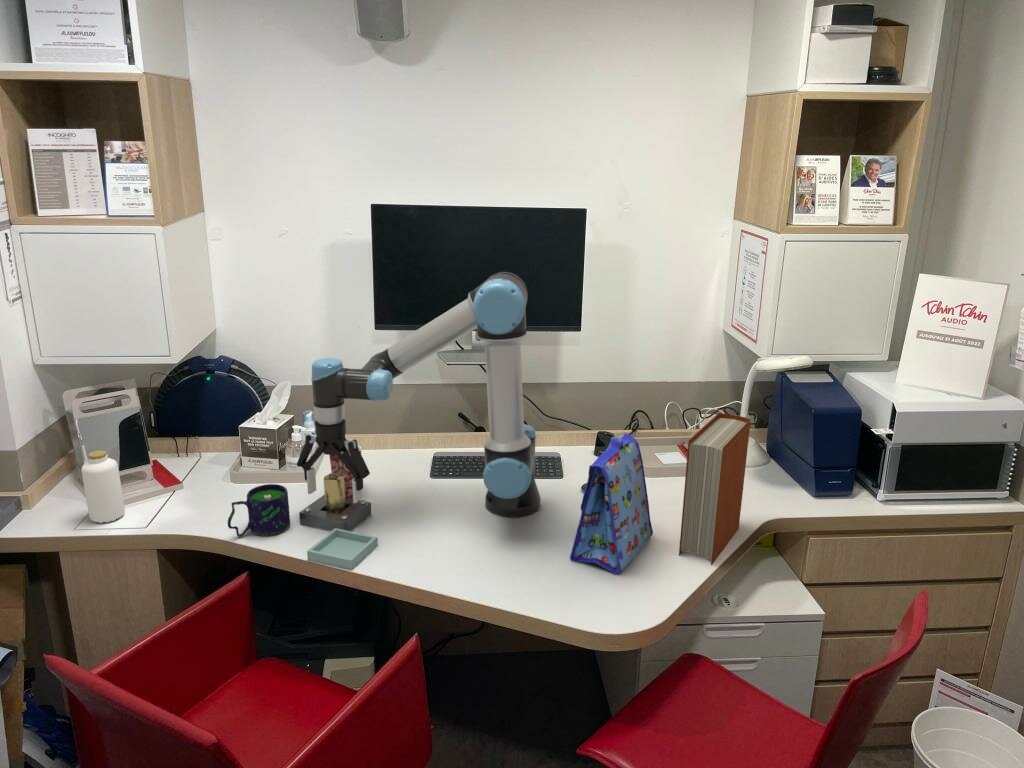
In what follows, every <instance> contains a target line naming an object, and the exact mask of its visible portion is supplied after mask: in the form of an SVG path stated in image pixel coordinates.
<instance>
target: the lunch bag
mask: <svg viewBox="0 0 1024 768" xmlns="http://www.w3.org/2000/svg"><path fill="white" fill-rule="evenodd" d="M587 475H588V479H587V483H586V486H585V491H584V493H583V496H582V500H581V504H580V511H581V515H580V518H579V521H578V522H579V523H578V526H577V529H576V533H575V538H574V540H573V544H572V547H571V548H572V549H571V552H570V554H569V559H570V561H573V562H577V563H578V562H583V563H591V564H593V563H594V564H597V565H599V566H600V567H602V568H603V569H605V570H606V571H608V572H611V573H613V574H614V575H619V574H620V573H621V572H622V571H623V570H624V568H626V566H627V565H628V564H629V563H630V562H631V561H632V559H634V557H636V555H637V554H638V553H639V551H640V550H641V549H642V548H643V547H644V546H645V544H646V543H648V541H649V540H650V539H651V537H652V536H654V535H653V534H654V531H653V527H652V521H651V515H650V504H649V497H648V495H649V494H648V490H647V489H648V488H647V482H646V475H645V469H644V462H643V457H642V452H641V448H640V445H639V443H638V440H637V439H636V438H635V437H634V436H633V435H631V434H629V433H623V434H622V435H621V436H620V437H616V436H612V437H611V438H610V441H609V444H608V446H607V448H606V449H605V451H604V452H602V453H601V454H600V455H599V456H598V457H597V458H596V459H595V461H593V463H591V465H589V467H588V474H587Z"/></svg>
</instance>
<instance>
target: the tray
mask: <svg viewBox="0 0 1024 768" xmlns="http://www.w3.org/2000/svg"><path fill="white" fill-rule="evenodd" d="M378 540H379V539H378V536H375V535H371V534H365V533H361V532H355V531H347V530H342V529H337V528H335V529H334V530H332V531H329V533H328V534H326V535H325V536H324V537H322V538H321V539H320V540H319V541H317V542H316V543H314V544H313V545H312V546H311V547H310V548H308V549H307V551H306V558H307V561H311V562H316V563H318V564H319V563H320V564H325V565H329V566H333V567H338V568H342V569H345V570H350V571H352V570H353V569H355V567H356V566H358V565H359V564H360V563H361V562H362V561H363V560H364V559H365V558H366V557H367V556H369V555H370V554H371V552H372V551H374V550H375V549H376V548H377V547H378V546H379V541H378Z"/></svg>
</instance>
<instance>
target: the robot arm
mask: <svg viewBox="0 0 1024 768" xmlns="http://www.w3.org/2000/svg"><path fill="white" fill-rule="evenodd" d="M528 293H529V292H528V289H527V286H526V284H525V282H524V280H523V279H522V278H520V277H519V276H518V275H516V274H515V273H512V272H509V271H508V272H507V271H500V272H497V273H494V274H492V275H490V276H489V277H488V278H487V279H485V281H484V282H482V283H481V284H480V285H478V286H477V287H476V288H474V289H473V290H471V291H470V292H468V294H467V298H466V299H464V300H463V301H461V302H460V303H458V304H456V305H455V306H453V307H451V308H450V309H448V310H447V311H446V312H444V313H442V314H441V315H438V316H437V317H435V318H433V320H431V321H429V322H428V323H425V324H424V325H423V326H421V327H420V328H418V329H416V330H415V331H413V332H412V333H410V334H409V335H407V336H404V337H403V338H402V339H400V340H399V341H397V342H395V343H394V344H392V345H391V346H389V347H387V348H386V349H384V350H382V351H380V352H379V351H378V352H377V353H375V354H374V355H372V356H371V357H370V359H369V360H368V361H367V363H365V365H363V366H362V368H348V367H344V365H343V361H342V360H341V359H339V358H336V357H323V358H319V359H316V360H315V361H314V362H313V363H312V364H311V387H312V396H313V397H312V398H313V415H314V420H315V422H314V429H315V430H314V431H315V432H310V433H309V434H307V435H305V441H304V442H305V443H304V445H303V448H302V450H301V452H300V455H299V457H298V460H297V462H296V466H297V467H299V468H300V467H301V468H302V469H303V473H304V480H305V481H306V482H307V483H306V484H307V485H306V486H307V494H308V495H312V494H313V493H315V492H317V482H316V481H317V478H316V476H317V475H316V467H315V466H314V464H315V463H317V460H319V458H320V457H321V456H322V455H323V454H324V455H326V456H327V455H329V454H330V455H332V456H337V457H338V458H339V459H341V460H342V462H343V463H344V464H345V466H346V467H347V468H348V470H349V471H350V472H351V474H352V475H353V476H354V478H353V479H352V488H353V498H352V499H353V503H357V502H358V501H359V500H362V490H363V489H364V479H365V478H367V477H368V476H369V475H370V473H371V472H370V470H369V468H368V465H367V463H366V461H365V459H364V457H363V455H362V452H361V453H360V451H359V449H358V445H359V444H358V440H357V439H354V438H353V440H347V439H346V432H347V428H346V427H347V424H346V419H345V417H346V408H345V407H346V406H345V400H346V399H348V400H350V399H351V400H363V401H364V400H368V401H374V402H376V401H386V400H389V399H390V398H391V396H392V393H393V386H394V379H395V378H397V377H399V376H400V375H402V374H403V373H405V372H406V371H408V370H409V369H412V368H413V367H414V366H416V365H418V364H420V363H421V362H423V361H425V360H426V359H428V358H429V357H431V356H433V355H434V354H436V353H438V352H439V351H442V350H443V349H445V348H446V347H447V346H450V345H451V344H452V343H455V342H456V341H458V340H459V339H461V338H463V337H464V336H466V335H468V334H469V333H471V332H473V331H475V330H477V331H476V333H477V338H478V339H479V340H481V341H482V342H483V343H484V344H483V345H484V358H485V359H484V360H485V374H486V379H485V380H486V393H487V411H488V412H487V413H488V427H489V428H488V429H489V435H488V437H487V438H486V439H485V440H484V442H483V447H484V448H483V449H484V450H483V451H484V469H483V472H482V478H483V484H484V486H485V487H486V489H487V491H486V493H485V497H484V499H485V500H484V501H485V502H484V503H485V504H484V505H485V508H486V510H488V511H489V512H490V513H491V514H494V515H497V516H500V517H505V518H506V517H507V518H520V517H521V518H522V517H526V516H530V515H533V514H535V513H536V512H538V511H539V510H540V508H541V494H540V491H539V487H538V486H537V482H536V479H535V476H536V470H535V469H536V466H535V465H536V439H537V436H536V429H535V428H534V426H532V425H530V424H526V423H525V421H524V420H525V419H524V418H525V417H524V396H523V393H524V391H523V374H522V371H523V370H522V369H523V368H522V350H521V346H522V345H521V341H522V340H523V339H524V338H525V337H526V336H527V314H526V312H527V311H526V307H527V303H528V297H529V294H528ZM315 443H316V444H317V446H318V447H317V448H316V450H315V451H314V452H313V454H312V455H311V456H310V453H311V452H312V449H313V447H314V444H315ZM345 446H347V448H346V447H345ZM347 449H349V451H348V450H347ZM342 451H343V454H341V452H342ZM349 453H350V454H349ZM350 455H351V456H350ZM309 456H310V457H309Z"/></svg>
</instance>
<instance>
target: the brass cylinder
mask: <svg viewBox="0 0 1024 768" xmlns="http://www.w3.org/2000/svg"><path fill="white" fill-rule="evenodd" d="M323 489H324V490H323V491H324V494H325V504H326V512H331V513H336V514H340V513H341V512H343V511H344V510H345V509H346V508H345V492H344V476H343V475H342V474H338V473H332V472H331V473H328V474H326V475H325V476H324V477H323Z"/></svg>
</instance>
